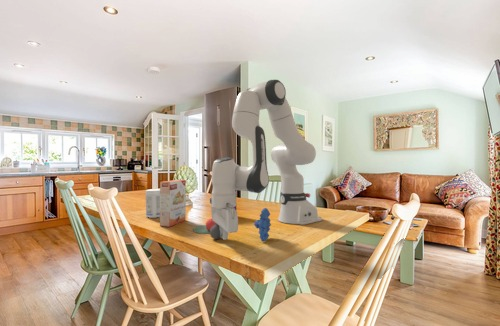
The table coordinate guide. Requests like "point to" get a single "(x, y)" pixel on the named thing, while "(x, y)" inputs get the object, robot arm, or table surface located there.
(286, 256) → the table surface
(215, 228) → the ball
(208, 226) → the ball
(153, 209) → the supplement tub
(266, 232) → the grapes
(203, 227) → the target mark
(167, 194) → the cracker box
